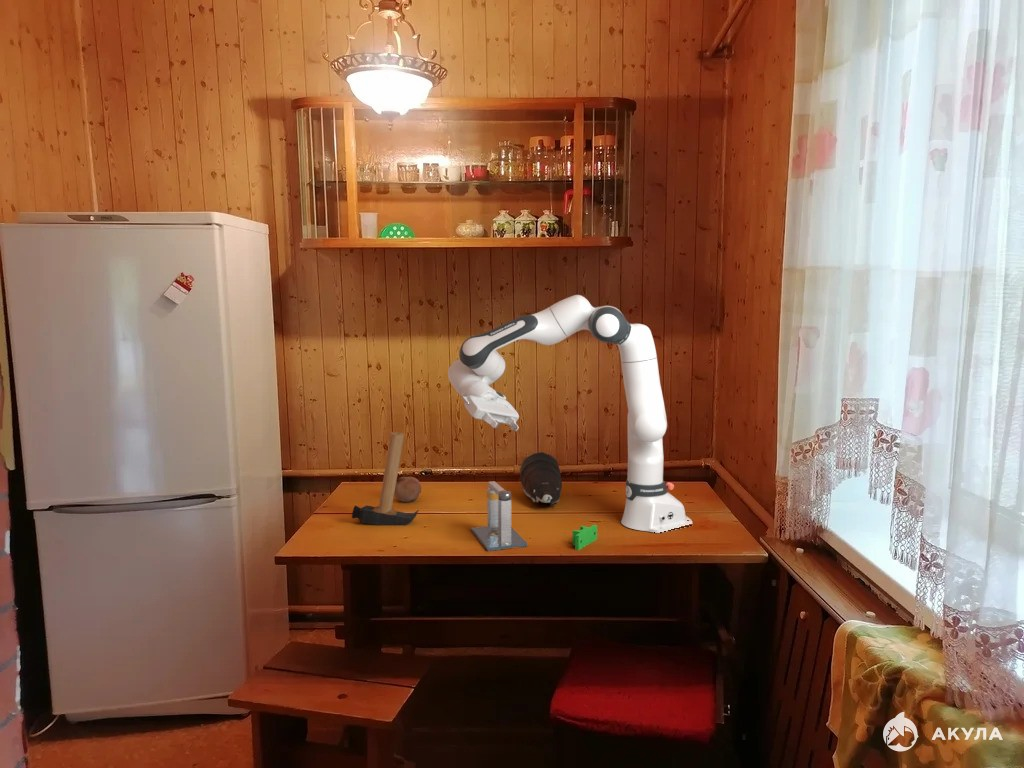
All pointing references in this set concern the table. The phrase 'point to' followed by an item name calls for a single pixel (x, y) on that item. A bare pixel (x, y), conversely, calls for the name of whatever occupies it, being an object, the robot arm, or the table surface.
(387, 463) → the hammer
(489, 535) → the bolt hole plate
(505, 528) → the grey metal upright piece
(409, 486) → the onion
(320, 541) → the table surface
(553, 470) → the dark brown oval body
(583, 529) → the pipe clamp
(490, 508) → the post
